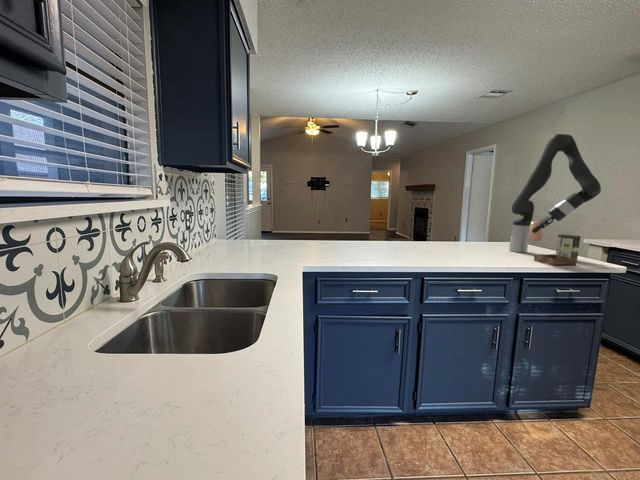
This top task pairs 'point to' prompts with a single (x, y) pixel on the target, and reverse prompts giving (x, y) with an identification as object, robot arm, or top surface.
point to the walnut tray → (555, 260)
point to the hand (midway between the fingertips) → (532, 231)
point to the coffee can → (568, 246)
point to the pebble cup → (538, 234)
